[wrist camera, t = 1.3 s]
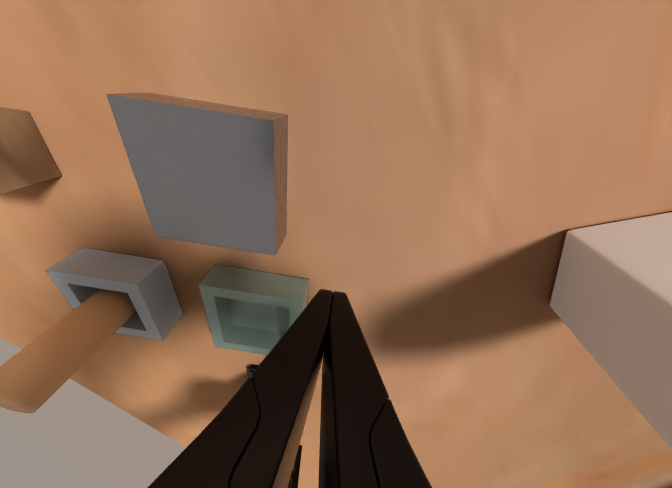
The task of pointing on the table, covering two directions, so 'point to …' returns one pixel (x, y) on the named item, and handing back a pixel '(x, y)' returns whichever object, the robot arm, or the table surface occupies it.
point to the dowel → (61, 351)
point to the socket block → (122, 288)
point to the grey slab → (207, 169)
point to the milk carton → (623, 307)
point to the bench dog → (22, 152)
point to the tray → (251, 307)
